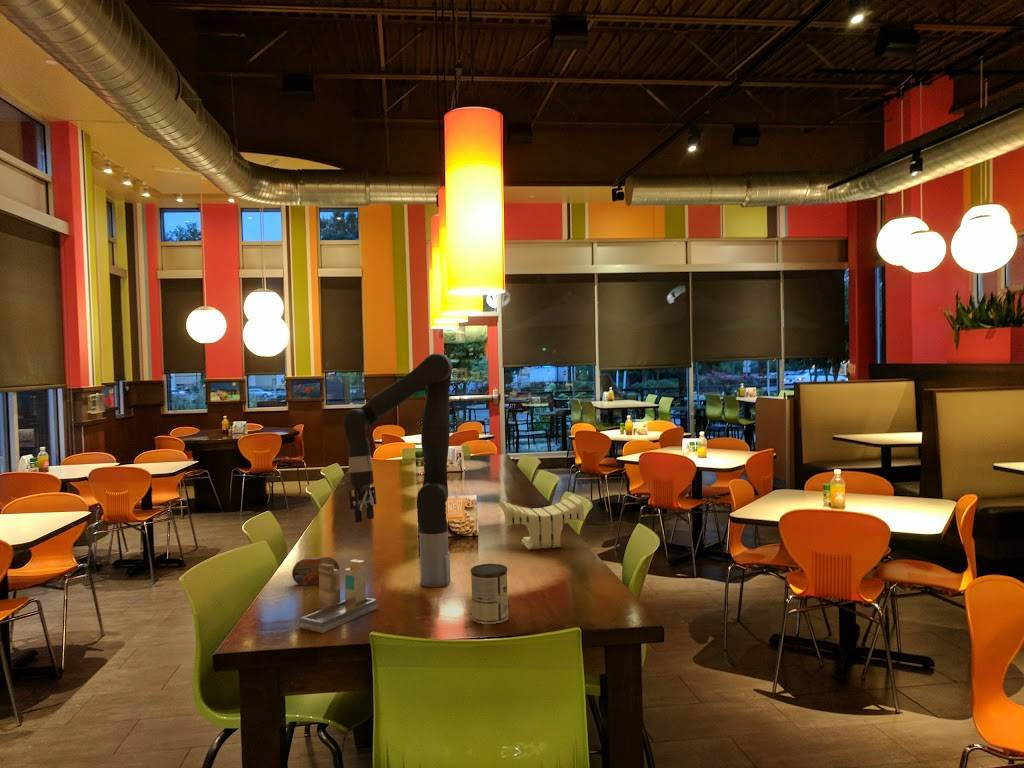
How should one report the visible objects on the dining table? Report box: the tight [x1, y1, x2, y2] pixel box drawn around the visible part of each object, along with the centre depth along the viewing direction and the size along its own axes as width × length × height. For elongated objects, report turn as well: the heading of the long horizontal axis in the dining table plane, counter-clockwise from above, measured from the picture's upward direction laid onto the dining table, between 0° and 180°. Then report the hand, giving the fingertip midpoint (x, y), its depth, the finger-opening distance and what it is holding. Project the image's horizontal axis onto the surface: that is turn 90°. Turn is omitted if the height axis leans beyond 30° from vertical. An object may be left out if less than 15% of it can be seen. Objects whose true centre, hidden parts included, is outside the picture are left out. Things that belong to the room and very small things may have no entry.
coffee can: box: [470, 563, 509, 625], centre depth 205 cm, size 10×10×14 cm
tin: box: [291, 556, 340, 586], centre depth 243 cm, size 15×3×8 cm, turn 105°
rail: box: [299, 558, 378, 634], centre depth 208 cm, size 22×8×14 cm, turn 149°
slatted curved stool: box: [498, 494, 585, 550], centre depth 286 cm, size 30×16×18 cm, turn 101°
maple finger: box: [318, 563, 341, 610], centre depth 217 cm, size 4×4×13 cm
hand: (364, 520), depth 236 cm, fingers open, 8 cm apart
